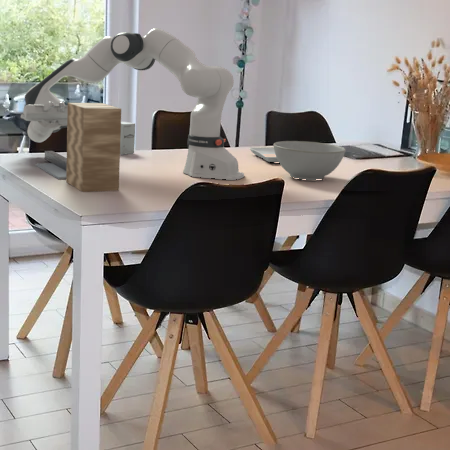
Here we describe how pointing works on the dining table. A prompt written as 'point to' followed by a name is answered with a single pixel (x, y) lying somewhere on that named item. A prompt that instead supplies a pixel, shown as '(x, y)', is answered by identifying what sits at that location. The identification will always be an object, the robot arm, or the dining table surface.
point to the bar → (56, 159)
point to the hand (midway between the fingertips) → (57, 103)
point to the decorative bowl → (308, 158)
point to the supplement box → (127, 138)
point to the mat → (53, 170)
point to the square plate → (262, 151)
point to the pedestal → (93, 146)
